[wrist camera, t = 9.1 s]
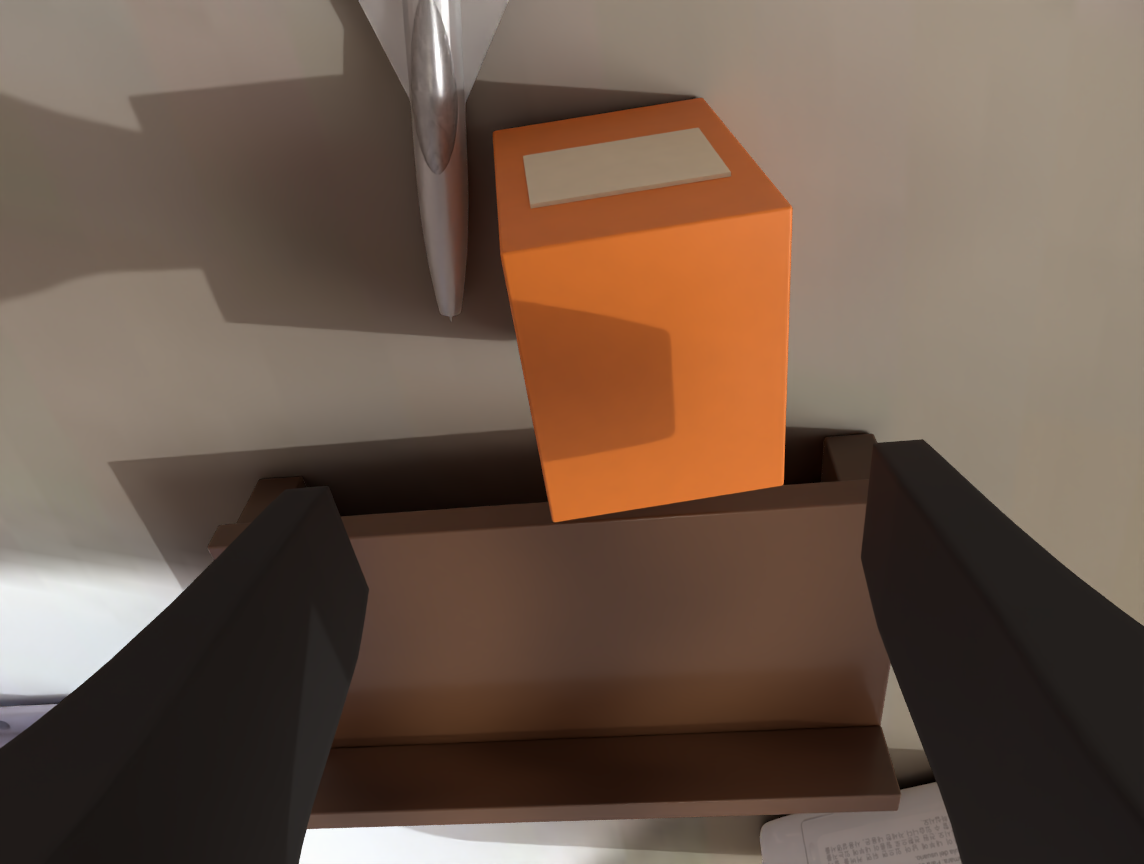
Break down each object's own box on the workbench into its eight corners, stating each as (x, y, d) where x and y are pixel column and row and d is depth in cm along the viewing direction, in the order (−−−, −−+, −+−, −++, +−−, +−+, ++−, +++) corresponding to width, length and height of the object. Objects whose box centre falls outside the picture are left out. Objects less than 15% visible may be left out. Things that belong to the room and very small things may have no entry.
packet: (533, 356, 19) (552, 523, 14) (491, 126, 16) (498, 248, 11) (710, 328, 19) (784, 486, 14) (702, 92, 16) (793, 201, 11)
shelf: (346, 684, 27) (302, 829, 23) (247, 470, 22) (169, 614, 18) (855, 658, 25) (898, 811, 22) (883, 420, 20) (948, 568, 16)
